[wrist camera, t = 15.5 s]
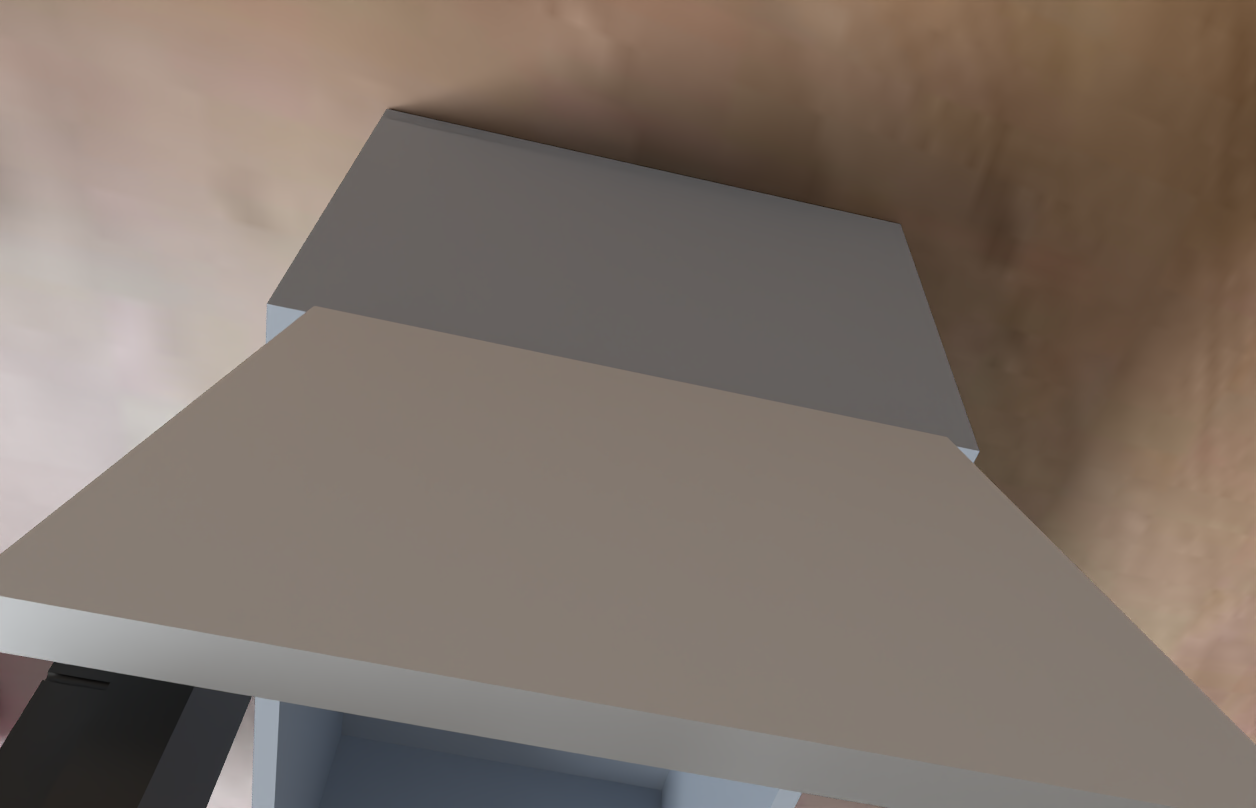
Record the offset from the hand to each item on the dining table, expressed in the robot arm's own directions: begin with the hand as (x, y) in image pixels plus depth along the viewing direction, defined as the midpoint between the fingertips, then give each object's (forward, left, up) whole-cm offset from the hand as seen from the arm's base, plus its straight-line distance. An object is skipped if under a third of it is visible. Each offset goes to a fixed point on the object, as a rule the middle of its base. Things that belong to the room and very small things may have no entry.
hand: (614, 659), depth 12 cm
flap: (0, +3, -9) cm, 9 cm away
